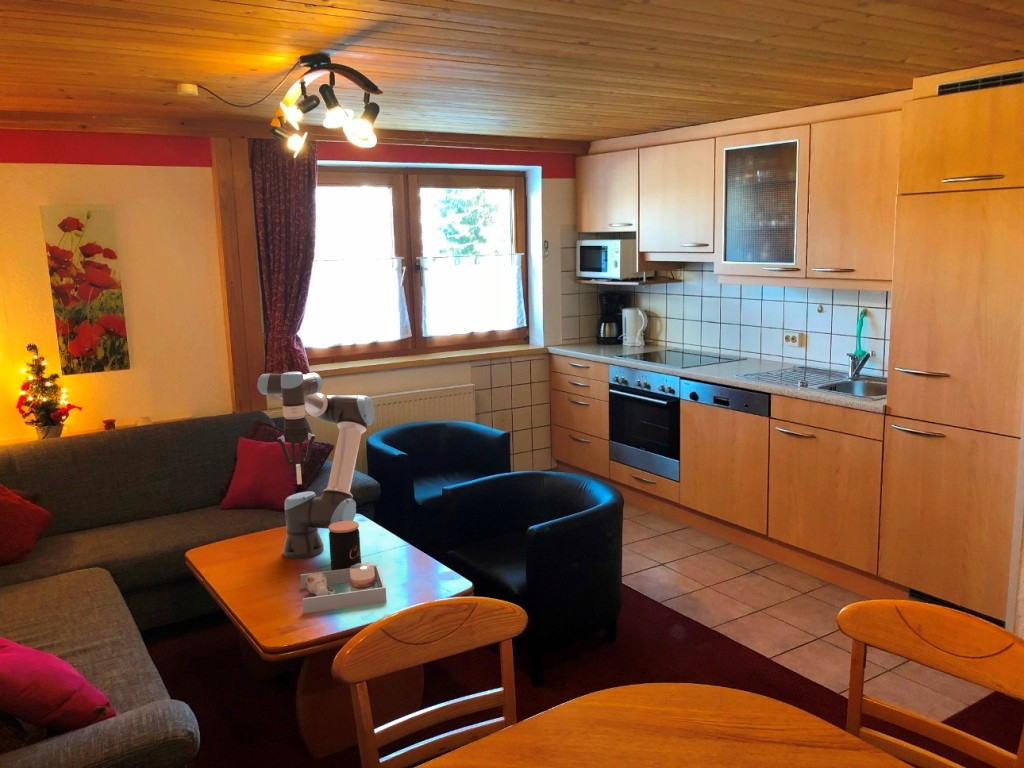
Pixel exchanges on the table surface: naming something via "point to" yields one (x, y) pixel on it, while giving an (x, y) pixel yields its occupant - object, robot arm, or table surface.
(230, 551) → the table surface
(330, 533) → the coffee jar
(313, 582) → the mug
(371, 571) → the round glass jar
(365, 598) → the grey u-shaped low frame
